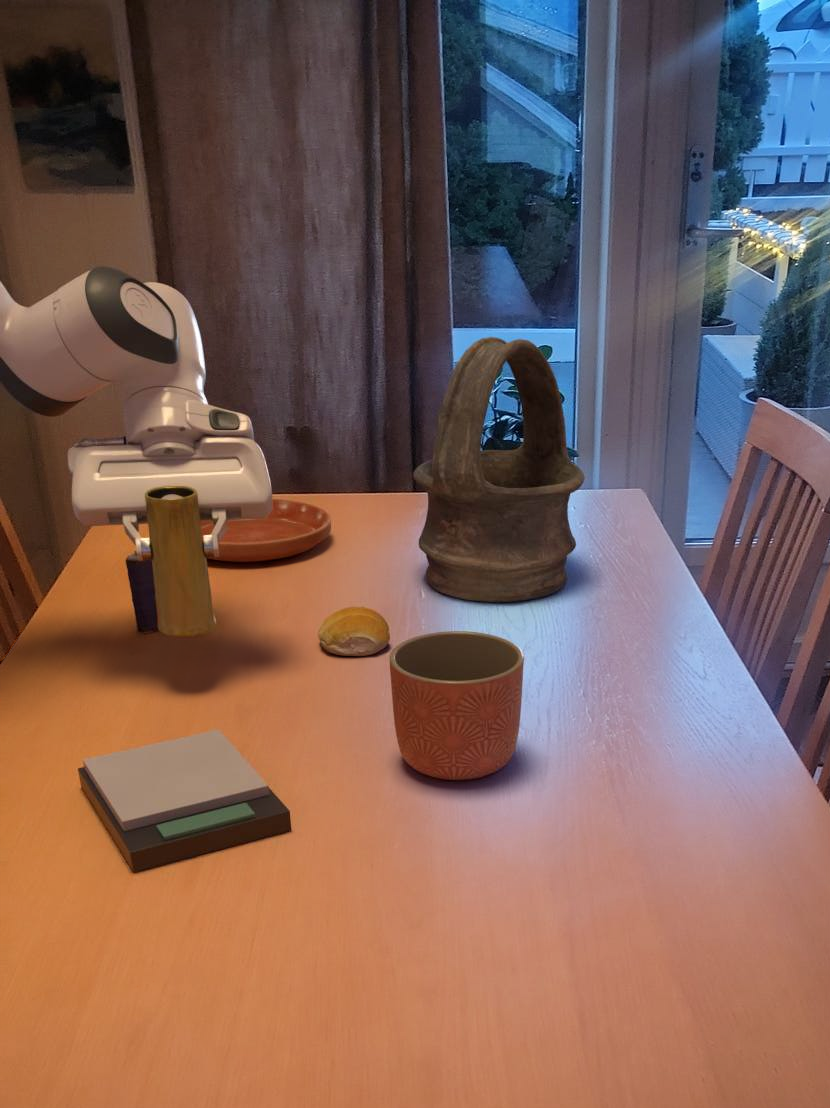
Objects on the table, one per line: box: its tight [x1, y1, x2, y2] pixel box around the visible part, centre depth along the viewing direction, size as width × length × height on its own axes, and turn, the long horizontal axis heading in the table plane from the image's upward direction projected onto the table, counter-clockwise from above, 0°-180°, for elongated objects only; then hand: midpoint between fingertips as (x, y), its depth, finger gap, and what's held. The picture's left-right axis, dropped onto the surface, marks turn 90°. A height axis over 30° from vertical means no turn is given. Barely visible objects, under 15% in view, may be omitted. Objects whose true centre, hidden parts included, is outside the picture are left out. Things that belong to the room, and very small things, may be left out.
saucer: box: [200, 498, 332, 563], centre depth 175 cm, size 23×23×4 cm
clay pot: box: [413, 336, 586, 603], centre depth 156 cm, size 22×23×30 cm
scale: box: [77, 729, 292, 873], centre depth 110 cm, size 14×17×3 cm
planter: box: [388, 630, 525, 781], centre depth 116 cm, size 12×12×11 cm
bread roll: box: [317, 606, 391, 657], centre depth 143 cm, size 8×9×4 cm
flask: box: [125, 549, 160, 634], centre depth 147 cm, size 9×3×11 cm, turn 147°
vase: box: [145, 486, 217, 638], centre depth 127 cm, size 6×6×14 cm
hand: (178, 556), depth 126 cm, fingers closed on vase, 5 cm apart
